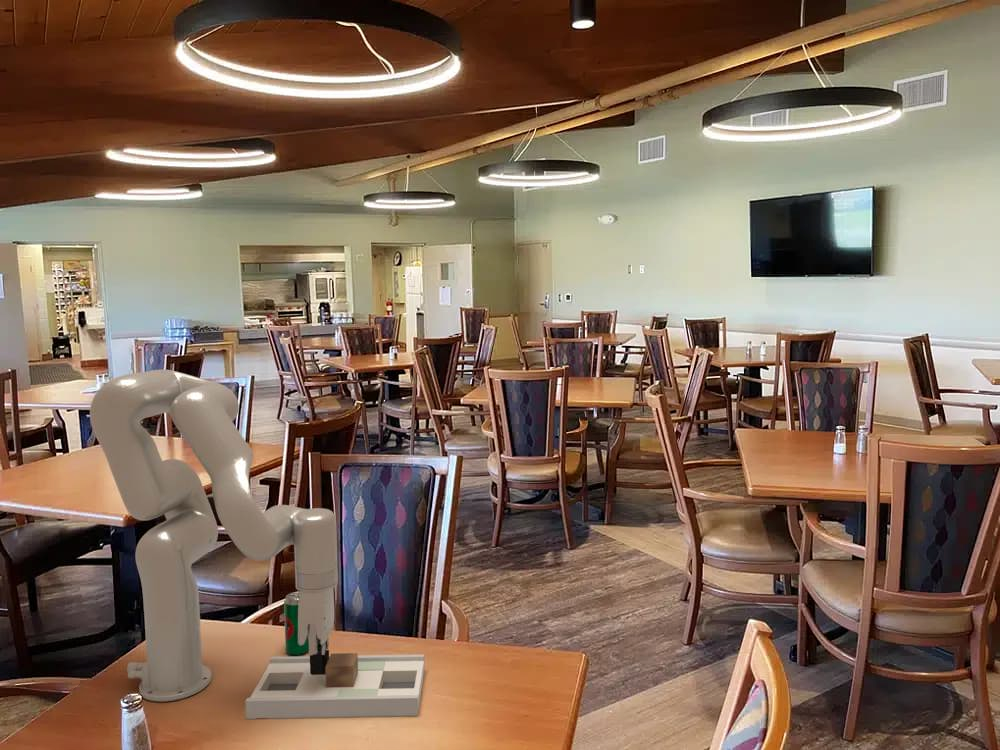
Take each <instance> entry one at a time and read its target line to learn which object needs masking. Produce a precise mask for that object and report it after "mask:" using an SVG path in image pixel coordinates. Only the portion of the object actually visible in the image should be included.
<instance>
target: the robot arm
mask: <svg viewBox="0 0 1000 750" xmlns="http://www.w3.org/2000/svg"><path fill="white" fill-rule="evenodd" d="M239 410H240V405H239V400H238V398H237V396H236V394H235V393H234V392H233V391H232V390H231V389H230V388H229V387H227V386H226V385H224V384H222V383H219V382H217V381H212V380H209V379H205V378H201V377H198V376H194V375H191V374H187V373H183V372H179V371H175V370H171V369H163V368H162V369H153V370H147V371H141V372H133V373H129V374H124V375H120V376H118V377H114V378H113V379H111V380H108V381H107V382H105V384H103V385H102V386H101V387H100V388H99V389H98V390H97V392H96V393H95V394H94V397H93V398H92V400H91V404H90V407H89V420H90V425H91V428H92V432H93V433H94V435H95V438H96V439H97V441H98V443H99V445H100V448H101V449H102V452H103V453H104V455H105V458H106V460H107V463H108V465H109V469H110V471H111V474H112V477H113V479H114V482H115V485H116V487H117V490H118V492H119V495H120V497H121V500H122V502H123V504H124V506H125V509H126V510H127V512H128V514H129V515H130V516H131V517H132V518H134V519H136V520H138V521H151V520H154V519H156V518H159V517H161V516H163V515H164V517H165V521H163V522H161V523H158V524H157V525H156V526H154V527H152V528H150V529H149V530H148V531H146V533H144V535H143V536H141V538H140V539H139V541H138V543H137V545H136V549H135V555H134V556H135V563H136V567H137V571H138V574H139V578H140V583H141V588H142V599H143V601H142V603H143V612H144V613H143V615H144V616H143V617H144V629H145V631H144V632H145V634H144V635H145V646H146V647H145V648H146V649H145V650H146V661H145V662H139V661H138V662H137V661H136V662H129V663H128V664H127V668H126V672H127V678H128V679H140V680H141V681H140V683H139V687H138V690H139V694H141V695H142V696H143V697H142V696H141V695H140V696H141V697H142V698H143V699H145V700H148V701H151V702H172V701H177V700H182V699H185V698H188V697H191V696H194V695H195V694H197V693H199V692H201V691H202V690H204V689H205V688H206V687H207V686H208V685H209V684H210V683H211V681H212V670H211V669H210V668H209V667H208V666H206V665H204V664H203V657H202V656H203V655H202V654H203V653H202V633H201V615H200V614H201V613H200V597H199V595H200V594H199V587H198V583H197V580H196V578H195V576H194V575H195V574H194V573H193V570H192V564H194V563H195V562H197V560H199V559H201V558H202V557H203V556H205V555H207V554H208V553H209V552H210V551H211V550H212V549H213V548H214V547H215V545H216V543H217V541H218V536H219V530H218V529H219V528H218V524H217V520H216V518H215V515H214V513H213V510H212V506H211V504H210V502H209V499H208V497H207V494H206V491H205V489H204V486H203V483H202V481H201V479H200V476H199V475H198V473H197V472H196V470H195V469H194V468H193V467H192V466H191V465H190V464H189V463H188V462H185V461H183V460H181V459H177V458H170V459H165V460H163V459H162V457H161V454H160V452H159V450H158V446H157V444H156V442H155V440H154V438H153V437H152V435H151V434H150V433H149V432H148V431H147V429H146V428H144V427H143V425H142V423H141V422H142V421H143V420H144V419H146V418H150V417H154V416H157V415H162V414H170V417H171V420H172V422H173V424H174V425H175V428H176V429H177V430H178V432H179V433H180V435H181V436H182V438H183V439H184V441H185V442H186V444H187V445H188V446H189V448H190V449H191V450H192V453H193V454H194V455H195V457H196V458H197V460H198V461H199V462H200V464H201V465H202V468H203V469H204V470H205V472H206V473H207V474H208V476H209V479H210V480H211V481H210V482H211V491H212V498H213V502H214V506H215V512H216V514H217V517H218V520H219V521H220V524H221V525H222V527H223V528H224V530H225V532H226V533H227V535H228V536H229V538H230V539H231V541H232V542H233V543H234V545H235V546H236V548H238V550H239V551H240V552H241V553H242V554H243V555H244V556H245V557H248V558H249V559H251V560H253V561H257V562H264V561H267V560H270V559H272V558H273V557H275V556H277V555H278V554H279V553H280V552H281V551H282V550H284V549H285V548H287V547H290V546H291V545H293V549H294V553H293V554H294V572H295V573H294V575H295V576H294V577H295V589H296V590H297V591H298V592H300V593H299V604H298V644H299V645H300V646H301V645H304V643H305V641H306V639H307V637H308V639H309V651H308V654H309V656H310V674H311V675H326V668H325V667H326V664H327V662H328V659H329V656H330V649H329V643H330V642H329V637H330V634H331V632H332V629H333V627H334V624H335V623H334V622H335V596H334V595H335V593H334V588H336V587H337V586H338V584H339V580H338V579H339V576H338V574H339V573H338V571H339V570H338V548H337V547H338V546H337V544H338V543H337V542H338V541H337V520H336V515H335V513H334V512H333V511H332V510H331V509H329V508H323V507H321V508H320V507H315V508H302V507H297V506H293V505H290V504H289V505H288V504H277V505H273V506H271V507H269V508H268V509H267V510H265V511H262V510H261V509H260V507H259V505H258V504H257V502H256V500H255V498H254V496H253V494H252V491H251V488H250V472H251V467H252V464H253V463H252V462H253V458H254V456H253V455H254V453H253V450H252V449H251V447H250V445H248V443H247V441H246V440H245V438H244V437H243V436H242V434H241V433H240V430H238V428H237V427H236V425H235V423H234V422H233V421H234V420H235V419H236V418H237V416H238V413H239Z"/></svg>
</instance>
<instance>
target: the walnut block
mask: <svg viewBox="0 0 1000 750" xmlns="http://www.w3.org/2000/svg"><path fill="white" fill-rule="evenodd" d="M358 655H359V654H358V653H357V652H352V653H351V652H349V653H348V652H346V653H344V652H343V653H341V652H340V653H330V654H329V656H330V657H329V659H328V662H327V664H326V667H325V668H326V688H328V687H354V684H355V681H356V678H357V675H358Z"/></svg>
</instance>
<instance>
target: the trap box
mask: <svg viewBox="0 0 1000 750" xmlns="http://www.w3.org/2000/svg"><path fill="white" fill-rule="evenodd" d="M329 657H330V655H329ZM425 669H426V668H425V654H422V653H421V654H373V655H372V654H370V655H367V654H366V655H365V654H364V655H359V654H358V675H357V678H356V681H355V684H354V687H328V688H326V675H311V674H310V655H308V656H303V655H298V656H294V655H293V656H271V657H270V658H269V664H268V666H267V667H266V669H265V671H264V673H263V674H262V676H261V677H260V680H259V682H258V683H257V685H256V686H255V688H254V690H253V692H252V694H251V695H250V697H247V698H245V699H246V700H245V719H246V720H248V719H249V720H255V719H256V718H268V719H305V718H307V719H310V718H314V719H315V718H317V719H320V718H321V719H322V718H323V719H324V718H365V717H366V718H367V717H368V718H369V717H370V718H371V717H373V718H374V717H375V718H376V717H379V718H380V717H418V716H419V709H420V703H421V702H420V701H421V696H422V689H423V684H424V682H423V681H424V677H425ZM256 720H257V719H256Z"/></svg>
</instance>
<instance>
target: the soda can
mask: <svg viewBox="0 0 1000 750" xmlns="http://www.w3.org/2000/svg"><path fill="white" fill-rule="evenodd" d="M299 593H300V591H295V592H290V593H288V594H286V596H285V600H283V604H284V605H283V609H284V610H283V613H284V615H283V616H284V636H285V637H284V639H285V640H284V641H285V642H284V643H285V644H284V645H285V652H286V653H287V654H288V655H290V656H293V657H294V656H297V655H298V656H303V655H305V654H307V653H309V639H308V637H307V639H306V641H305V643H304V645H301V646H300V645H299V644H298V604H299ZM302 654H303V655H302Z"/></svg>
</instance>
